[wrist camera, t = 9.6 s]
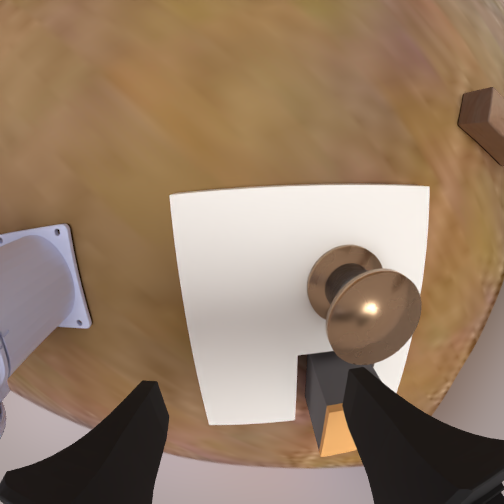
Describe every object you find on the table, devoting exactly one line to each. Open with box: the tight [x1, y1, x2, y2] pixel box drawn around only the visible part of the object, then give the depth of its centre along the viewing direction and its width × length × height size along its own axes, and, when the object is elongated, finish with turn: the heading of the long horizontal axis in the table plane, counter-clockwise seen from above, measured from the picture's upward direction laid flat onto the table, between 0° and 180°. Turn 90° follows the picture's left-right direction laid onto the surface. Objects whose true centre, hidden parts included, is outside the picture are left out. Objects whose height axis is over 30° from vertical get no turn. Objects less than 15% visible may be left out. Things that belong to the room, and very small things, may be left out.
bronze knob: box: [307, 244, 421, 365], centre depth 15 cm, size 5×5×5 cm
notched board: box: [170, 184, 429, 425], centre depth 19 cm, size 16×18×2 cm
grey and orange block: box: [305, 351, 382, 457], centre depth 18 cm, size 4×5×7 cm
